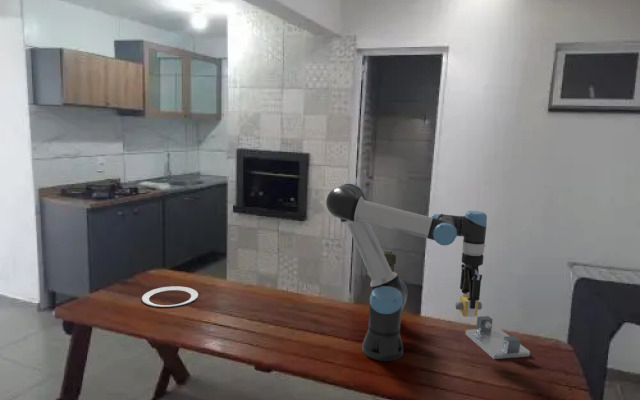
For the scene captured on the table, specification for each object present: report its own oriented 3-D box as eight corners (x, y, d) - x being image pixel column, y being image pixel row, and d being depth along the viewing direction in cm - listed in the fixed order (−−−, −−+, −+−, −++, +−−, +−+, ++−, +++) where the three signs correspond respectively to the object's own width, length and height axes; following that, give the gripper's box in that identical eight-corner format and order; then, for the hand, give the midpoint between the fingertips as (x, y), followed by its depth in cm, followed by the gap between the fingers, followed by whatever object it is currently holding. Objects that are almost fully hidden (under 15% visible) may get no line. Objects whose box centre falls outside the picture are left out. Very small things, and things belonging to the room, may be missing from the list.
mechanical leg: (391, 324, 191) (397, 253, 193) (374, 322, 192) (380, 251, 194) (392, 319, 204) (398, 252, 206) (376, 317, 206) (382, 250, 208)
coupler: (458, 316, 168) (459, 301, 167) (453, 311, 173) (455, 296, 172) (482, 316, 169) (483, 301, 168) (476, 311, 174) (478, 296, 173)
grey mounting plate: (530, 356, 170) (532, 338, 169) (494, 359, 167) (496, 341, 166) (497, 331, 191) (499, 315, 189) (464, 333, 187) (466, 317, 186)
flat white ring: (189, 310, 199) (189, 307, 199) (132, 307, 199) (132, 304, 199) (204, 289, 224) (204, 287, 223) (153, 287, 224) (153, 284, 224)
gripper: (493, 260, 159) (487, 323, 162) (473, 246, 176) (468, 303, 180) (472, 260, 158) (467, 323, 162) (454, 246, 176) (449, 303, 180)
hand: (467, 312), depth 171 cm, fingers closed on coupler, 5 cm apart
